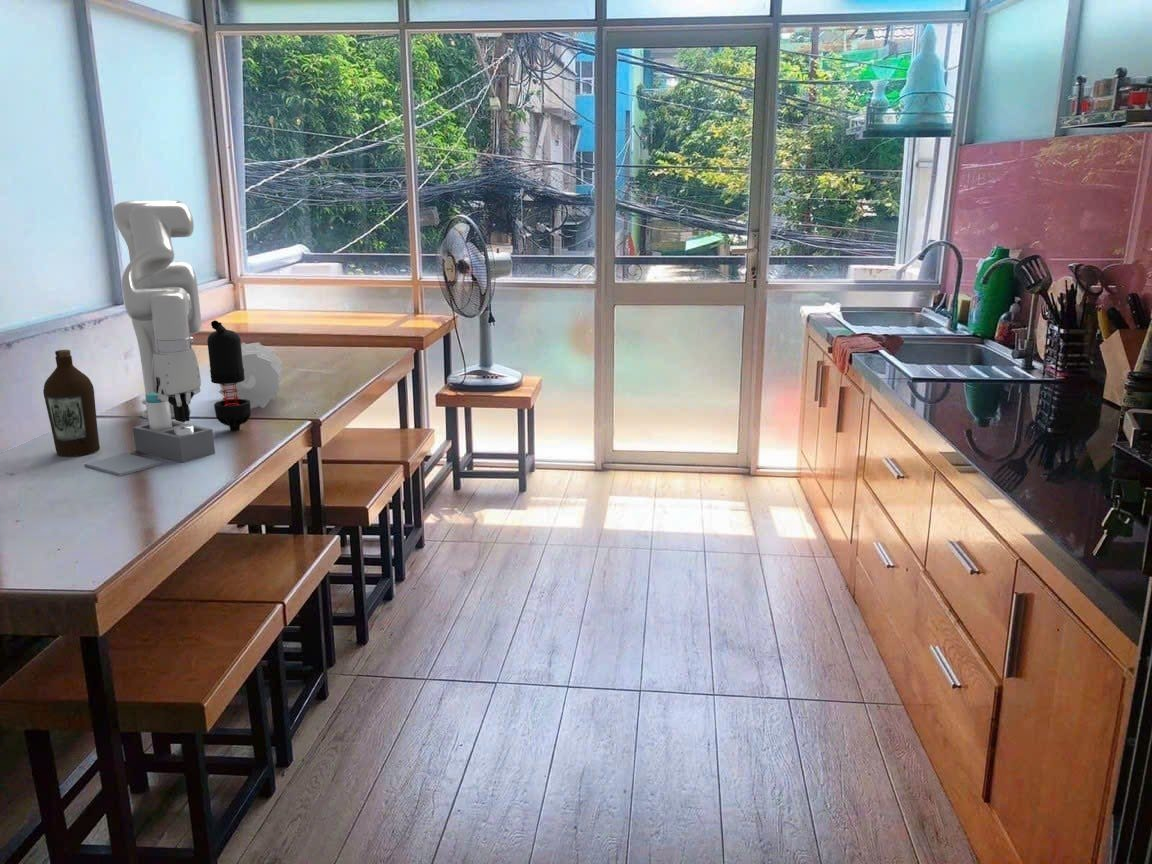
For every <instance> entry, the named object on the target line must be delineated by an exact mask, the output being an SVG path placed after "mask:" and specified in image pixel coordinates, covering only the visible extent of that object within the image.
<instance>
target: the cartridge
mask: <svg viewBox="0 0 1152 864" xmlns="http://www.w3.org/2000/svg"><path fill="white" fill-rule="evenodd" d="M166 396H167V395H166ZM145 398H146V403H147V409H146V410H147V411H148V418H149V419H148V424H149V426H150V429H151V430H155V431H158V430H162V429H166V428H170V427H172V421H173V420H172V418H171V413H170V405H169V402H168V401H159V400H158V393H155V392H153V393H148V394H145Z"/></svg>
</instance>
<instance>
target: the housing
mask: <svg viewBox="0 0 1152 864" xmlns="http://www.w3.org/2000/svg"><path fill="white" fill-rule="evenodd" d="M171 421H172V427H170V428H166V429H162V430H158V431H155V430H151V429H150V426H149V423H145V424H142V425H137V426H135V427H134V426H133V427H132V432H133V438H134V447H135V451H136V452H137V451H138V453H142V454H146V455H150V456H154V457H158V458H162V457H163V458H162V459H166V458H167V460H170V459H171V461H174V460H175V461H176V462H178V461H179V463H182V462H183V463H185V461H186V462H189V461H192V460H196V459H199V458H200V459H201V458H202V457H206V456H210V455H214V454H215V453H216V451H215V441H214V432H213V428H208V427H204V426H203V427H202V426H199V425H194V424H192V425H193V426H194V433H191V434H187V435H183V436H178V435H175V434H174V427H175V426H179V425H191V424H189V423H186V422H179V421H176V420H175V421H174V420H171Z"/></svg>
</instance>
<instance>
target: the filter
mask: <svg viewBox="0 0 1152 864" xmlns="http://www.w3.org/2000/svg"><path fill="white" fill-rule="evenodd" d="M222 324H223V323H222V322H219V320H212V321H211V322H210V326H211V329H213V330H214V331H213V332H211V333H210V334H209V335H208V337H207V342H206V343H207V349H208V351H207V353H208V361H209V362H208V363H209V368H210V369H209V374H210V381H211V383H212V384H216V385H217V384H219V385H220V384H222V385H223V386H230V385H233V389H227V390H223V391H222V392H224V396H223V398H222V399H223V400H218V401H216V402H215V403H214V404H213V406H214V413H215V417H216V419H217V421H218V422H219V423H221V424H223V425H225V426H228V427H229V429H230V431H231V432H237V431H240V430H241V425H243V424H245V423H247V422H248V420H249V419H250V417H251V412H252V409H251V407H250V400H247V399H238V397H237V393H236V396H235V393H234V396H230V397H227V393H233V392H237V391H238V390H237V389H236V385H235V384H237V383H238V382H242V381H244V379H245V378H244V377H245V376H244V368H243V361H242V350H241V343H242V342H241V337H240V336H239V334H238V333H237V332H235V331H233V330H229V329H226V327H225V326H224V325H222ZM232 383H234V384H232ZM226 384H227V385H226ZM234 385H235V389H234ZM228 390H235V391H232V392H227V391H228ZM225 391H226V392H225ZM225 393H226V397H225ZM231 397H234V399H227V398H231Z"/></svg>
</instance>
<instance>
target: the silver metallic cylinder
mask: <svg viewBox="0 0 1152 864" xmlns="http://www.w3.org/2000/svg"><path fill="white" fill-rule="evenodd" d="M193 425H194V424H190V425H179V426H175V427H174V434H175V435H178V436H183V435H187V434H191V433H194V426H195V425H194V426H193Z"/></svg>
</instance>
